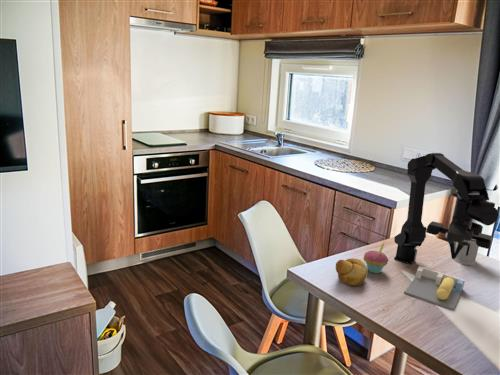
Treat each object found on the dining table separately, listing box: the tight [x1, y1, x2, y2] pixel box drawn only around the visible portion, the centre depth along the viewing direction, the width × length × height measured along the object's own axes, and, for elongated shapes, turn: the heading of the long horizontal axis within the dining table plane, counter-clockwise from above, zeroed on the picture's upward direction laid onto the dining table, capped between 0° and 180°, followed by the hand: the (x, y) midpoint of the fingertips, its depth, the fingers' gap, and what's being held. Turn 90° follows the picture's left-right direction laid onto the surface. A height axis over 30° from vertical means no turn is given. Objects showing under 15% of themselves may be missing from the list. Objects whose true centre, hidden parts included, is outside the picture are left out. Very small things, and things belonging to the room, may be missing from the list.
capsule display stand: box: [403, 265, 466, 311], centre depth 141 cm, size 15×17×4 cm
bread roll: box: [335, 257, 369, 287], centre depth 144 cm, size 13×10×8 cm
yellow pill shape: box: [436, 277, 455, 300], centre depth 139 cm, size 14×4×4 cm, turn 145°
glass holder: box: [452, 221, 484, 266], centre depth 164 cm, size 9×14×15 cm, turn 133°
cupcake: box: [362, 241, 389, 274], centre depth 151 cm, size 9×8×12 cm
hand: (453, 258), depth 139 cm, fingers closed
